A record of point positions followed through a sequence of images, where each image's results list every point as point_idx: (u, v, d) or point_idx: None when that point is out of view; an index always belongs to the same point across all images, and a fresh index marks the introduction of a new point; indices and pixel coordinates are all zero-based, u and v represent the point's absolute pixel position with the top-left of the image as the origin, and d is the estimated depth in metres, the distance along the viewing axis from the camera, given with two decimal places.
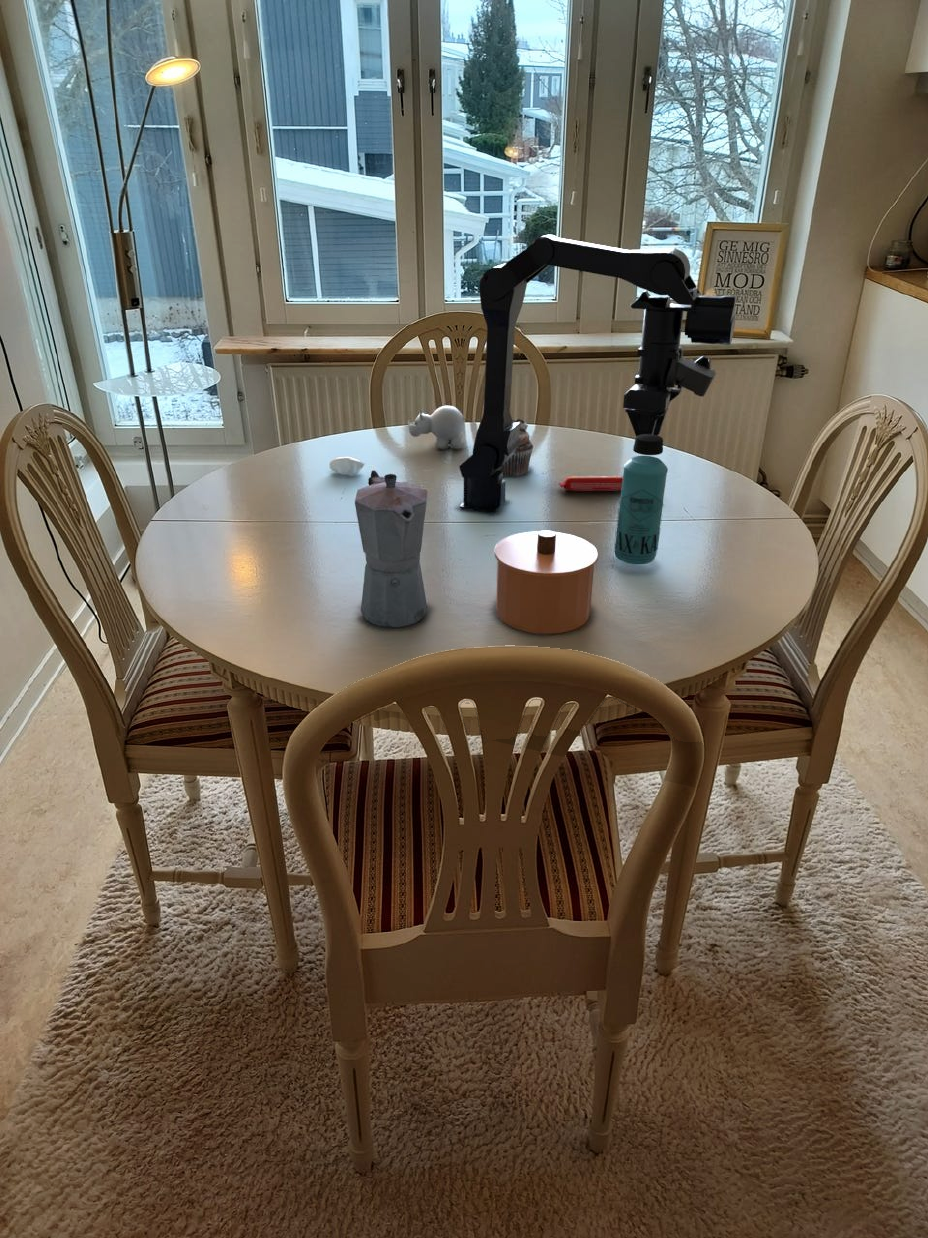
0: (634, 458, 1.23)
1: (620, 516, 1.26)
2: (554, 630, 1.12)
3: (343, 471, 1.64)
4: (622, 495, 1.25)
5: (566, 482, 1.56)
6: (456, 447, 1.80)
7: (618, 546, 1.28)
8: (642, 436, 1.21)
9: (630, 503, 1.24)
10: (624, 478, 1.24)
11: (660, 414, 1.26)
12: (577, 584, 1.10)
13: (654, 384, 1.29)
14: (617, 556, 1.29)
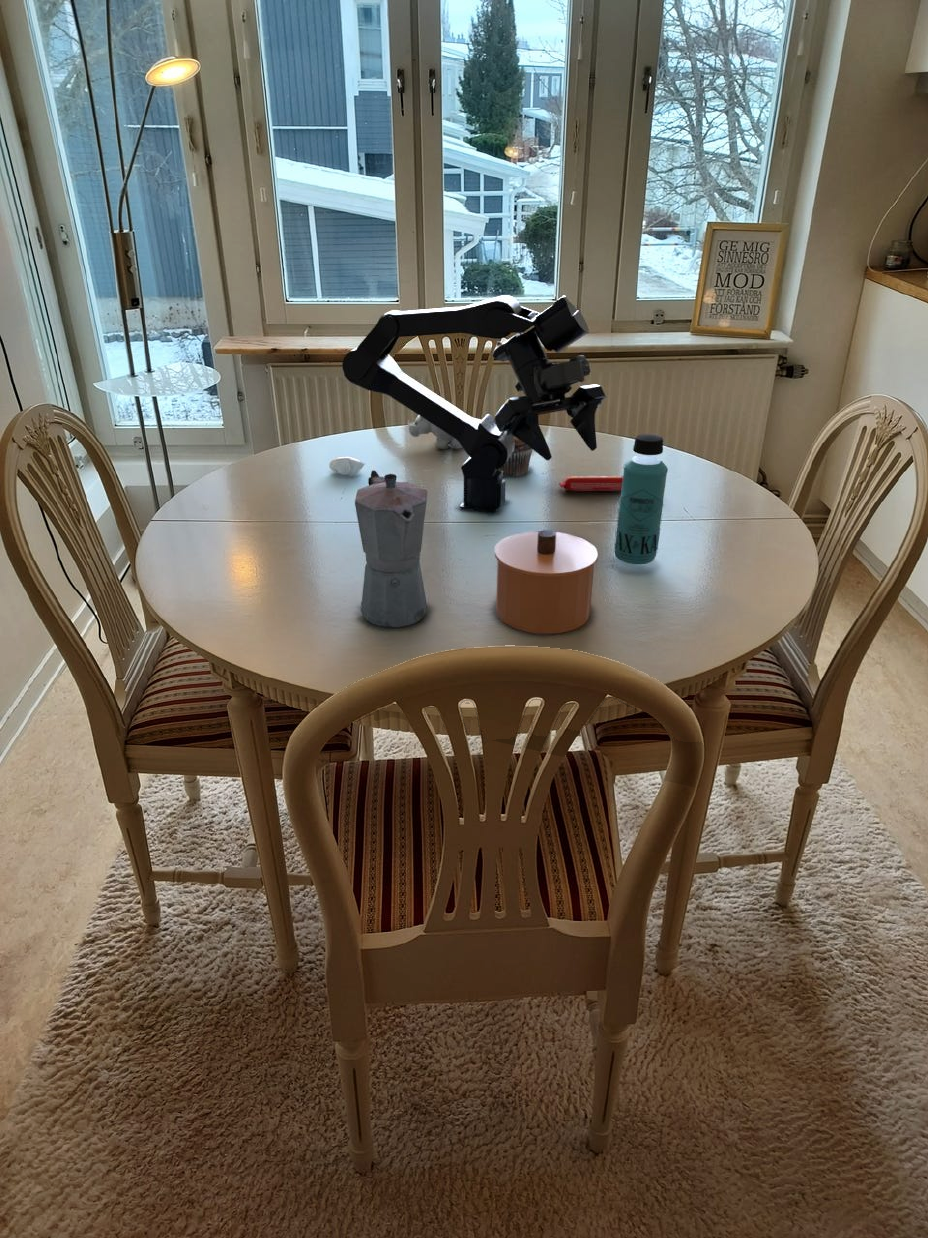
0: (634, 458, 1.23)
1: (620, 516, 1.26)
2: (554, 630, 1.12)
3: (343, 471, 1.64)
4: (622, 495, 1.25)
5: (566, 482, 1.56)
6: (456, 447, 1.80)
7: (618, 546, 1.28)
8: (642, 436, 1.21)
9: (630, 503, 1.24)
10: (624, 478, 1.24)
11: (522, 416, 1.30)
12: (577, 584, 1.10)
13: (533, 402, 1.35)
14: (617, 556, 1.29)
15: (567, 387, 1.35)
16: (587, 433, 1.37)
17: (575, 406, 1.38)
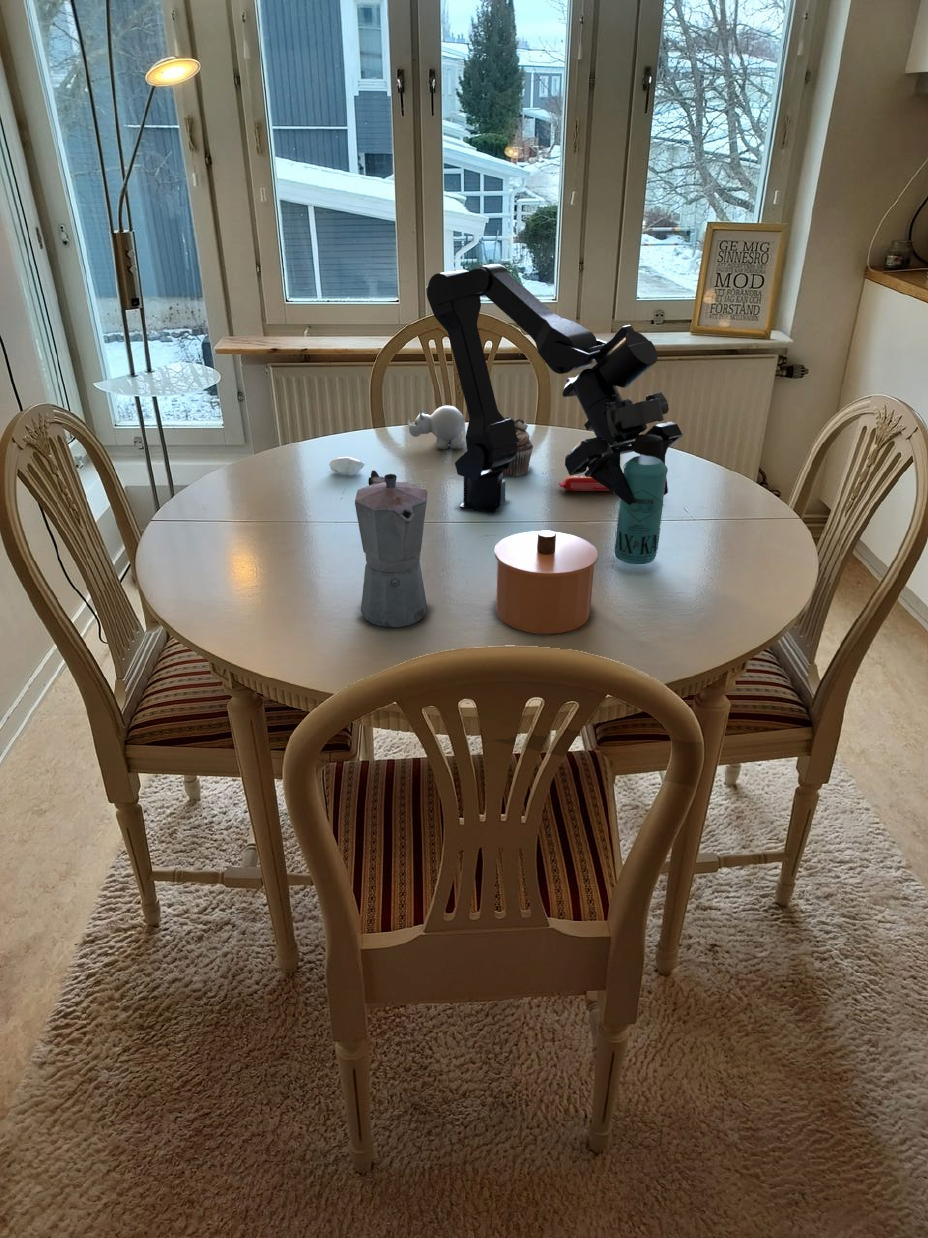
0: (634, 458, 1.23)
1: (620, 516, 1.26)
2: (554, 630, 1.12)
3: (343, 471, 1.64)
4: None
5: (566, 482, 1.56)
6: (456, 447, 1.80)
7: (618, 546, 1.28)
8: (642, 436, 1.21)
9: None
10: None
11: (603, 458, 1.20)
12: (577, 584, 1.10)
13: (606, 442, 1.24)
14: (617, 556, 1.29)
15: (643, 427, 1.24)
16: None
17: None
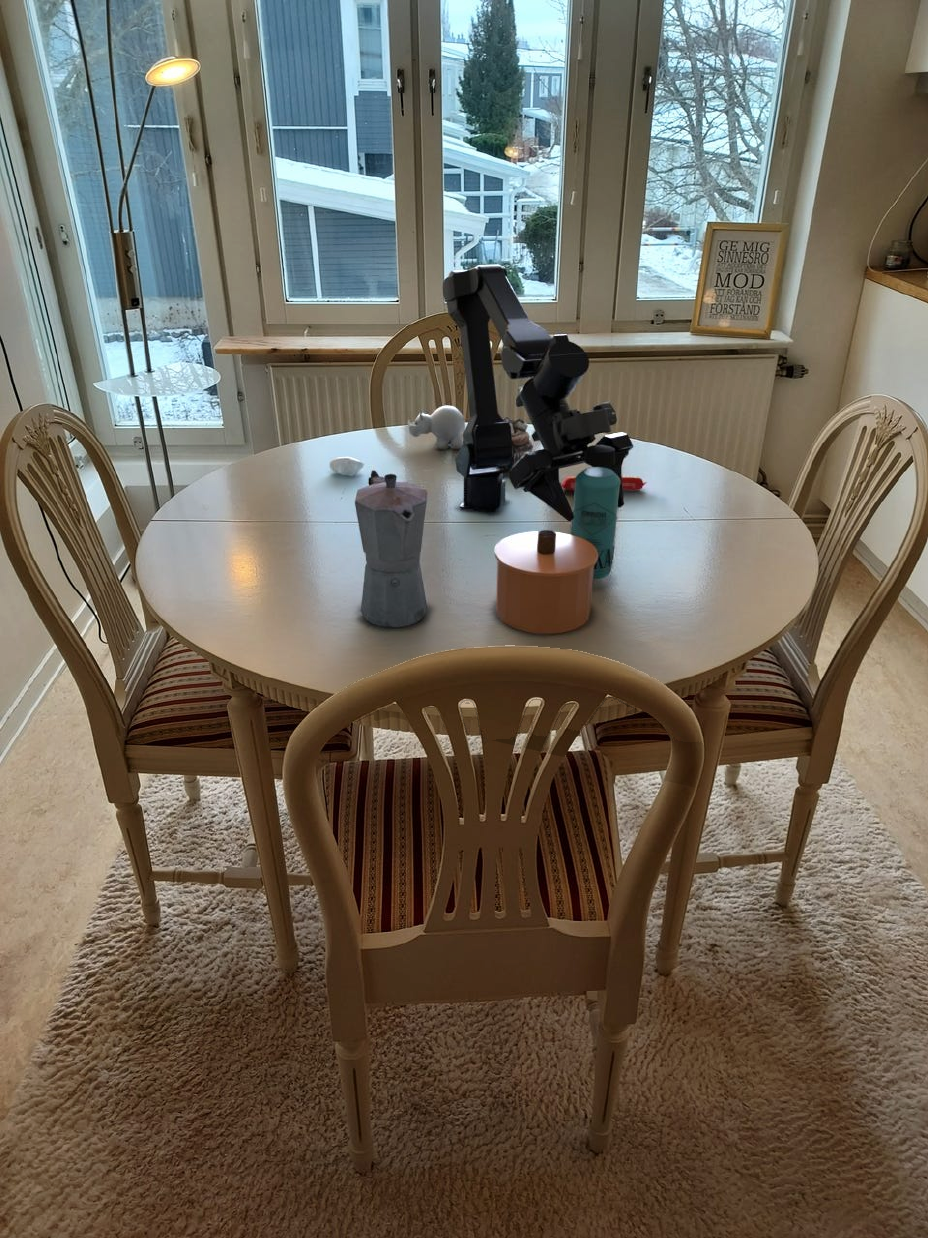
0: (586, 470, 1.19)
1: (572, 530, 1.22)
2: (554, 630, 1.12)
3: (343, 471, 1.64)
4: (574, 508, 1.20)
5: (566, 482, 1.56)
6: (456, 447, 1.80)
7: None
8: (593, 447, 1.17)
9: (582, 516, 1.19)
10: (576, 490, 1.19)
11: (540, 473, 1.15)
12: (577, 584, 1.10)
13: (553, 454, 1.20)
14: None
15: (591, 438, 1.19)
16: None
17: None
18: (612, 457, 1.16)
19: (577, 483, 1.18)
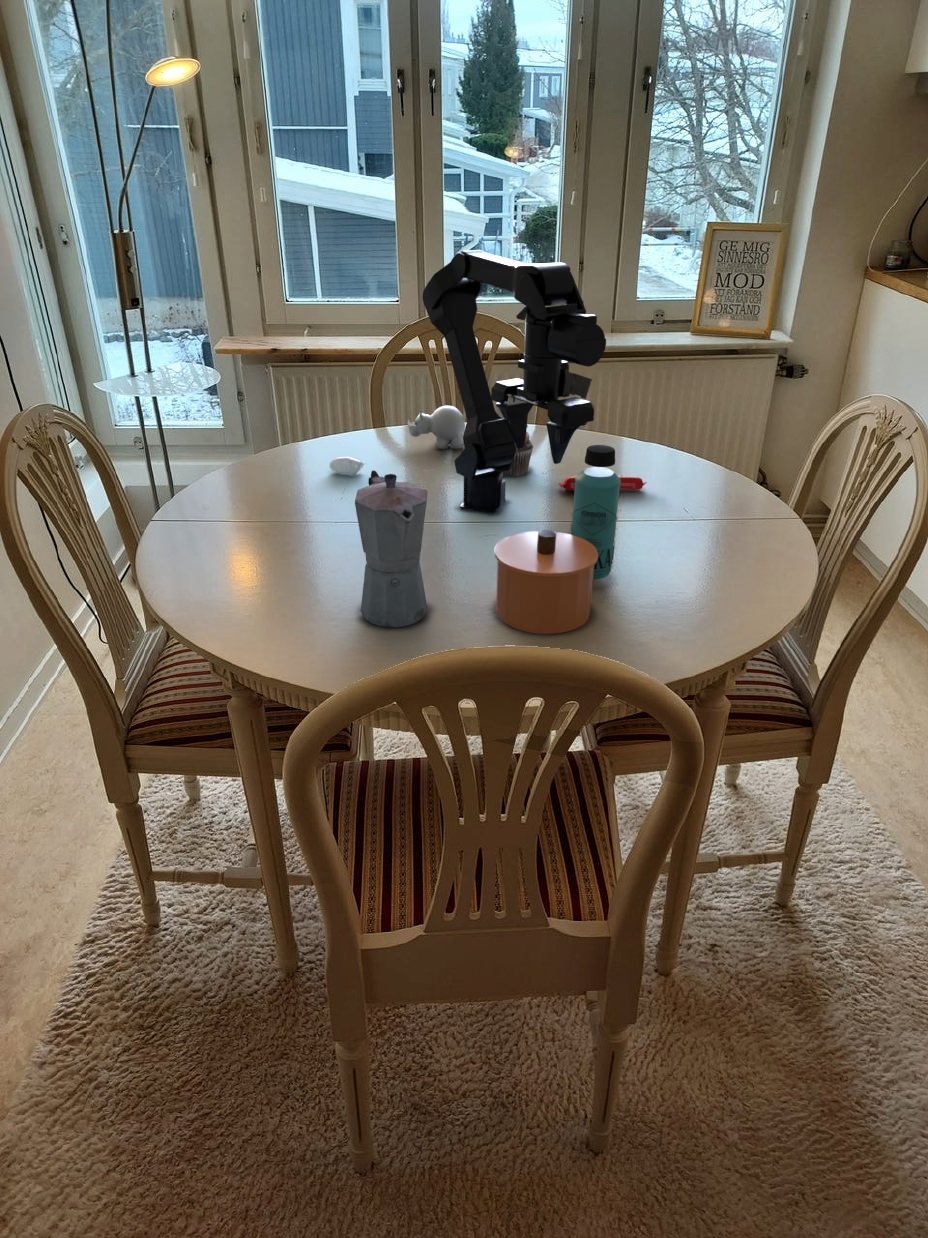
0: (586, 470, 1.19)
1: (572, 530, 1.22)
2: (554, 630, 1.12)
3: (343, 471, 1.64)
4: (574, 508, 1.20)
5: (566, 482, 1.56)
6: (456, 447, 1.80)
7: None
8: (593, 447, 1.17)
9: (582, 516, 1.19)
10: (576, 490, 1.19)
11: (586, 423, 1.28)
12: (577, 584, 1.10)
13: (554, 397, 1.29)
14: None
15: None
16: (522, 430, 1.38)
17: None
18: (612, 457, 1.16)
19: (577, 483, 1.18)
